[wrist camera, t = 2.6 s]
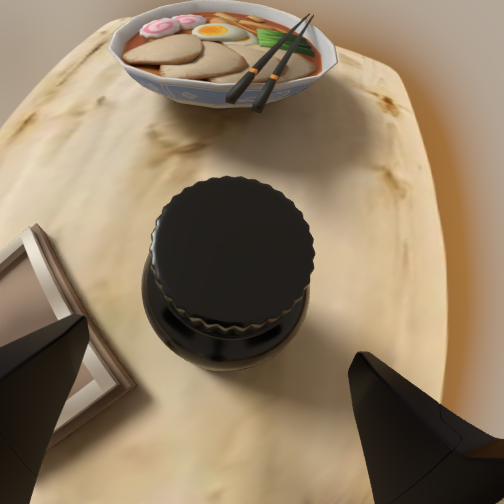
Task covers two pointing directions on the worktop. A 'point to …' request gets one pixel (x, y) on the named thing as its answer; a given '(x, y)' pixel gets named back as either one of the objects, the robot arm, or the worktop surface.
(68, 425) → the beige square tray
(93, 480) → the worktop surface
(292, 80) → the ramen bowl
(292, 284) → the supplement bottle
